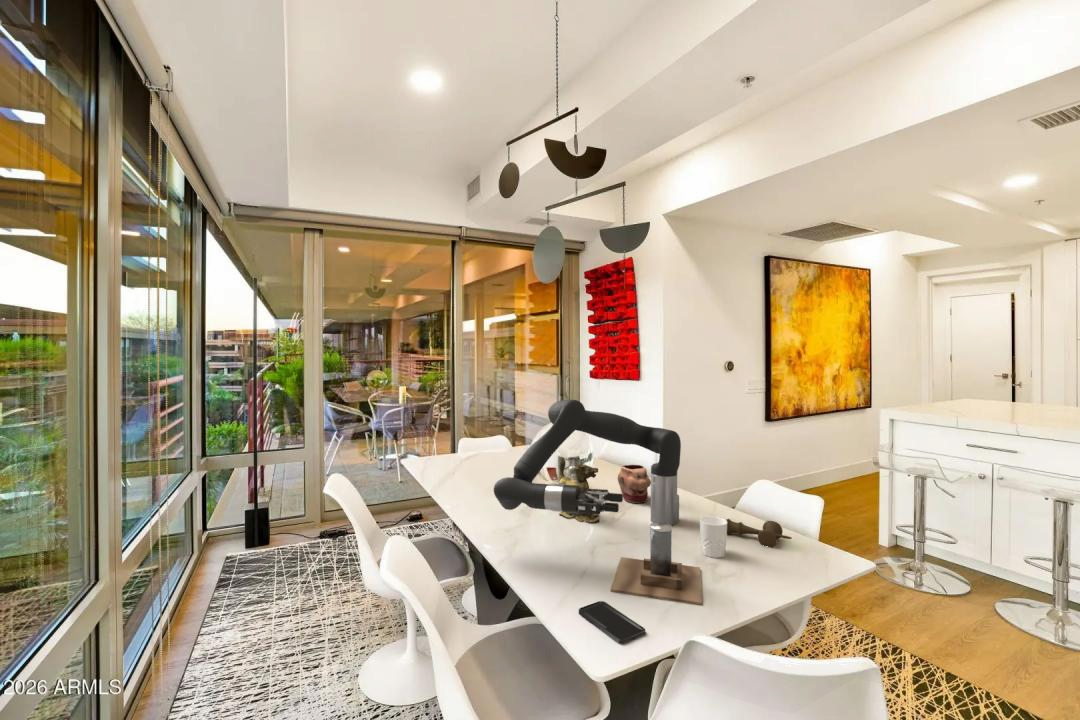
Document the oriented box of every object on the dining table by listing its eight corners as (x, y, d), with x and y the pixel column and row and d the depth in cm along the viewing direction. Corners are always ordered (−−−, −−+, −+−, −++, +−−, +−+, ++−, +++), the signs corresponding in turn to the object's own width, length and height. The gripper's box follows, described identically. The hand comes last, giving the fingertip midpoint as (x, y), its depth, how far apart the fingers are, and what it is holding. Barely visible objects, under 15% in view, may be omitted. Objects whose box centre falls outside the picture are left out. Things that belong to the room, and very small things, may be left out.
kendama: (730, 530, 165) (794, 542, 154) (722, 539, 158) (789, 553, 146) (729, 513, 165) (794, 524, 153) (721, 521, 158) (789, 533, 146)
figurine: (580, 526, 167) (581, 468, 166) (542, 507, 188) (542, 455, 188) (609, 520, 173) (609, 464, 173) (569, 501, 195) (569, 452, 194)
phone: (602, 600, 115) (647, 630, 103) (602, 604, 115) (647, 635, 103) (576, 609, 111) (620, 642, 99) (576, 614, 111) (620, 647, 99)
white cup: (726, 550, 147) (726, 517, 147) (727, 560, 140) (728, 526, 140) (699, 546, 150) (699, 514, 150) (699, 556, 142) (699, 523, 142)
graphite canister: (661, 571, 131) (661, 520, 131) (675, 580, 126) (676, 527, 126) (645, 575, 128) (646, 524, 128) (659, 584, 124) (660, 531, 123)
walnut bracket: (610, 591, 121) (610, 579, 121) (620, 559, 140) (620, 548, 140) (702, 605, 115) (702, 592, 115) (699, 569, 134) (699, 558, 134)
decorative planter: (607, 494, 206) (608, 461, 205) (632, 491, 210) (632, 459, 210) (633, 508, 187) (633, 472, 187) (659, 504, 191) (659, 470, 191)
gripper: (556, 492, 128) (617, 497, 123) (568, 478, 142) (623, 482, 137) (556, 520, 128) (617, 525, 123) (568, 503, 142) (624, 508, 137)
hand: (620, 502), depth 130 cm, fingers open, 8 cm apart
